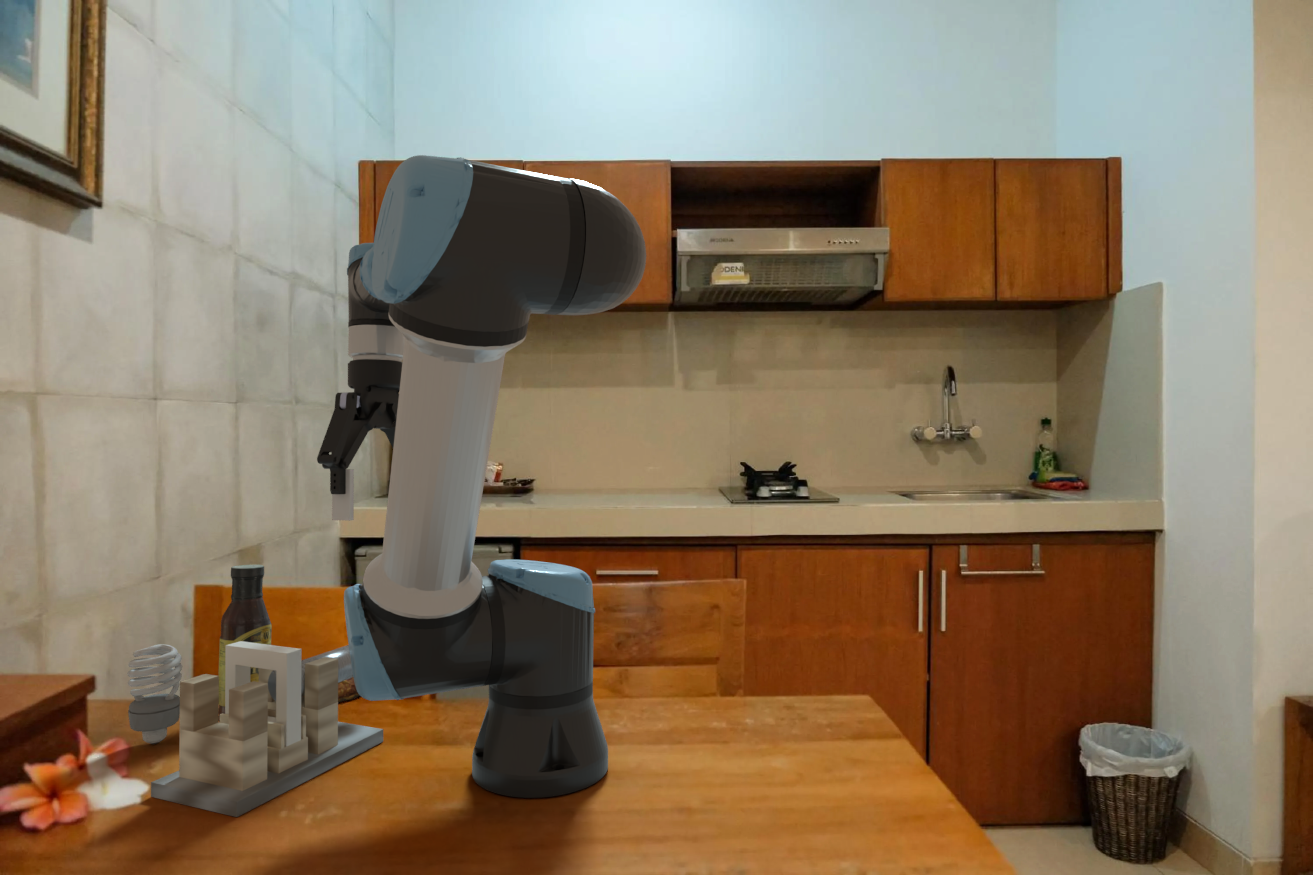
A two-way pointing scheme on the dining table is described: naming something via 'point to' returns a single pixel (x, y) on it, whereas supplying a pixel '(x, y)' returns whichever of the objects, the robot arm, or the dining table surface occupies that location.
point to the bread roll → (347, 690)
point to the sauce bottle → (243, 619)
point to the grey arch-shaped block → (287, 680)
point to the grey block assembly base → (257, 742)
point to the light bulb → (158, 708)
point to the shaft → (340, 654)
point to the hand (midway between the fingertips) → (376, 516)
